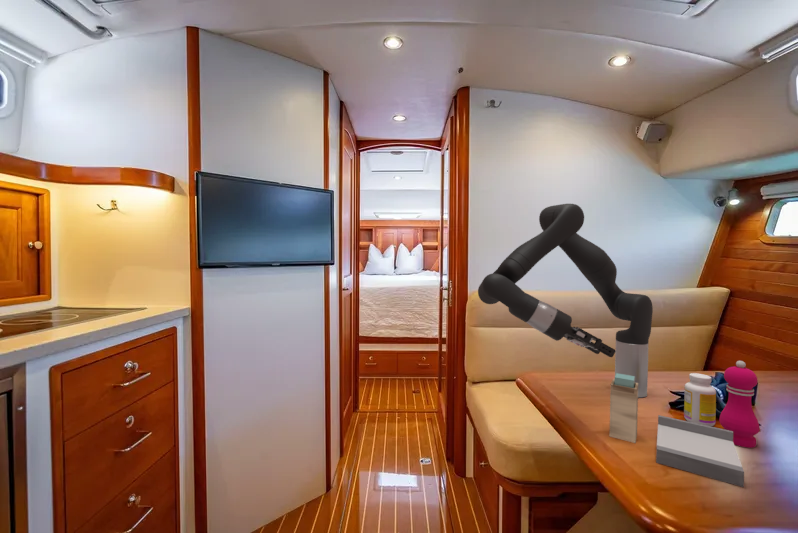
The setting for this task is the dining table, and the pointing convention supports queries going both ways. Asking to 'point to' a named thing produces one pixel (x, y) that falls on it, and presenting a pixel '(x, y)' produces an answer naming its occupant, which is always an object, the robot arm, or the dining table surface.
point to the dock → (698, 450)
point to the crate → (623, 412)
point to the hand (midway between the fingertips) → (606, 352)
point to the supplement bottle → (700, 400)
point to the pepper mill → (740, 405)
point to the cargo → (624, 380)
